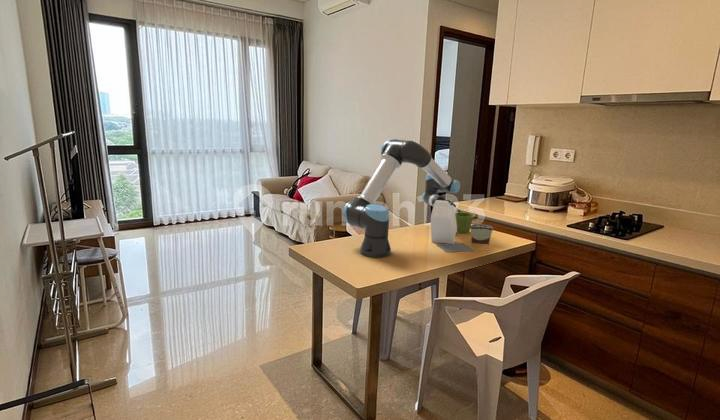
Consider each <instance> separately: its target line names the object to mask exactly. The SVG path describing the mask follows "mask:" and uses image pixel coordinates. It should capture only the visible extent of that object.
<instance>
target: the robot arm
mask: <svg viewBox="0 0 720 420" xmlns="http://www.w3.org/2000/svg"><path fill="white" fill-rule="evenodd" d="M380 150H381V151H380V160H381V161H380V162H379V164H378V166H377V167H376V169H375V171H374V172H373V174H372V175H371V177H370V178H369V180H368V182H367V183H366V185H365V187H364V188H363V190H362V191H361V193H360V195H357V196H355V198H354V199H353V200H352V201H349V202H347V203H346V204H345V205H344V207H343V210H342V218H343V220H344V222H345V223H347V224H348V225H350V226H352V227H357V228H359V229H363V230H364V237H363V240H362V243H361V245H360V254H361V255H363V256H365V257H369V258H385V257H389V256H390V255H391V254H392V248H391V244H390V240H389V227H390V211H389V208H388V207H386V206H384V205H381V204H376V201H377V200H378V198H379V197H380V195H381V193H382V192H383V190H384V188H385V187H386V185H387V184H388V181H389V180H390V178H391V177H392V175H393V174H394V171H395V170H396V169H399V168H400V167H402V166H401V165H402V164H403V163H407V164H412V165H415V166H416V167H417V168H420V169H422V170H423V171H424V173H426V177H425V188H424V190H425V191H424V192H423V194H422V196H421V199H422V201H423V202H424V204H426V205H429V206H432V207H433V206H434V203H435V201H436V200H442V201H447V200H446V199H445V198H444V197H443V196H441V195H439V194H438V191H442V192H446V193H452V194H453V193H454V194H457V193H458V192H459V191H460V188H461V182H460V181H459V180H456V179H453V178H452V177H451V176H450V175H449V174H448V173H447V172H446V171H445V170H444V169H443V167H441V166H440V165H439V164H438V163H437V162H436V160H434V159H433V157H432V154H431V153H430V151H428V149H426V148H425V147H424V146H422V145H421V144H420V143H418V142H416V141H413V140H404V139H397V138H394V139H388V140H386V141H384V142H383V145H382V146H381V149H380ZM449 204H450V205H454V208H455V213H458V212H459V208H458V207H457V206H456V204H455V203H454V202H453V201H451V202H449Z"/></svg>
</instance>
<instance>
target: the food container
mask: <svg viewBox="0 0 720 420" xmlns="http://www.w3.org/2000/svg"><path fill="white" fill-rule="evenodd" d="M493 232H494V227H493V226H491V225H489V224H483V223H473V224H471V227H470V242H471V243H470V244H473V245H484V246H485V245H487V246H489V245H490V241H491V237H492V236H491V235H492V233H493Z"/></svg>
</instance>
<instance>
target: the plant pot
mask: <svg viewBox="0 0 720 420" xmlns="http://www.w3.org/2000/svg"><path fill="white" fill-rule="evenodd" d="M455 216H456V224H457V231H456V233H459V234H463V235H467V234H469V233H470V232H471V229H470V227H471V225H473V224H472V223H473V221H474V217H475V216H476V214H474V213H472V212H466V211H465V212H464V211H458V213H455Z"/></svg>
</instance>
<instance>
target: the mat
mask: <svg viewBox="0 0 720 420" xmlns="http://www.w3.org/2000/svg"><path fill="white" fill-rule="evenodd" d="M436 246H437V247H439V248H440V249H441V250H443V251H444V252H445V253H460V252H475V249H473V248H472V247H470V246H468V245H467V244H465V242H463V243H461V242H460V243H454V244H446V243H438V244H437V243H436Z"/></svg>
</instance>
